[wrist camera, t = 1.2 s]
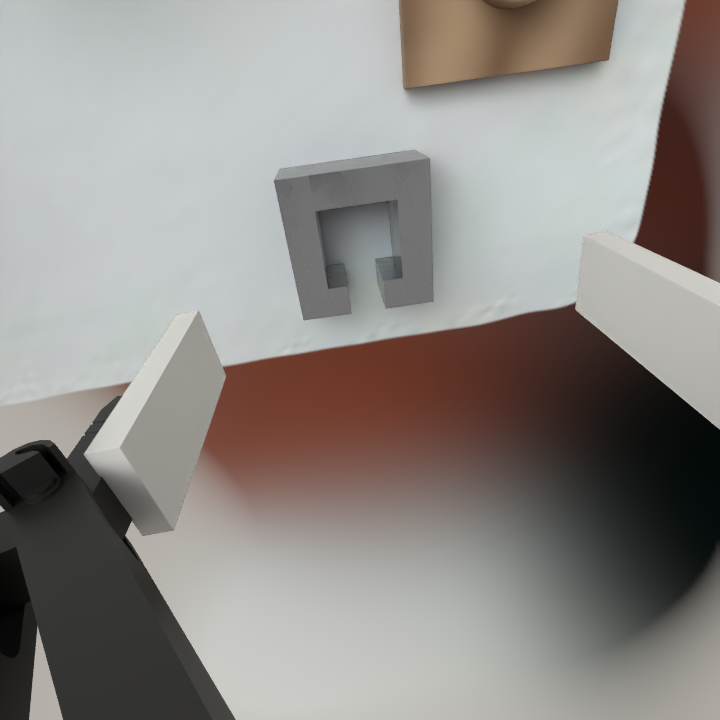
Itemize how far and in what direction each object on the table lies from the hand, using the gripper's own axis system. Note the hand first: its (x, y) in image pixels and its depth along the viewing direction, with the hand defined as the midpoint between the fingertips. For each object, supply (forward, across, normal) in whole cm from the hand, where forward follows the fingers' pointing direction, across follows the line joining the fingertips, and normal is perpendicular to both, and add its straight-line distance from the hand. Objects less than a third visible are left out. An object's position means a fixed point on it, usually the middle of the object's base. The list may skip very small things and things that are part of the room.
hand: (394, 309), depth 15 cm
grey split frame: (+18, 0, -2) cm, 18 cm away
